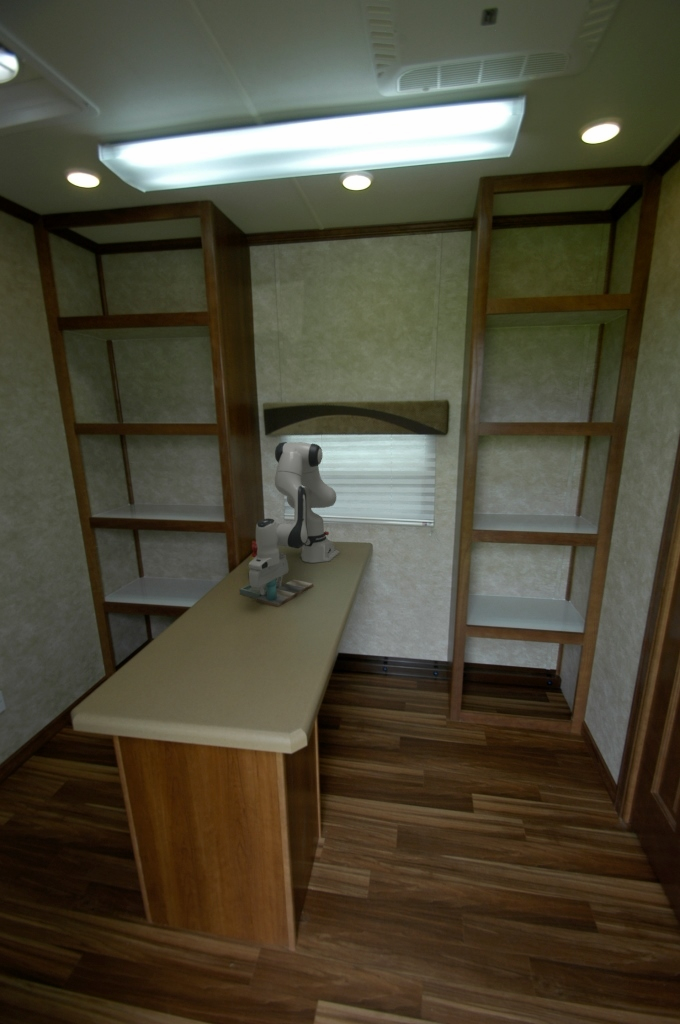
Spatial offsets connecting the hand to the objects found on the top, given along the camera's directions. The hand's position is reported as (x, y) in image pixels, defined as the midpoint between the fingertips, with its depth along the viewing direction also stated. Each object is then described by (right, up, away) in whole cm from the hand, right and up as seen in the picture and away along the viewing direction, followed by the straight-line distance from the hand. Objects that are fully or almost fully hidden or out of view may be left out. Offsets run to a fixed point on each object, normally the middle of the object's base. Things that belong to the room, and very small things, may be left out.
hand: (271, 590), depth 178 cm
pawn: (0, -4, +1) cm, 4 cm away
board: (+5, -3, +8) cm, 10 cm away
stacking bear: (-10, +1, +31) cm, 32 cm away
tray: (-7, -3, +12) cm, 14 cm away
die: (-7, -2, +11) cm, 14 cm away
